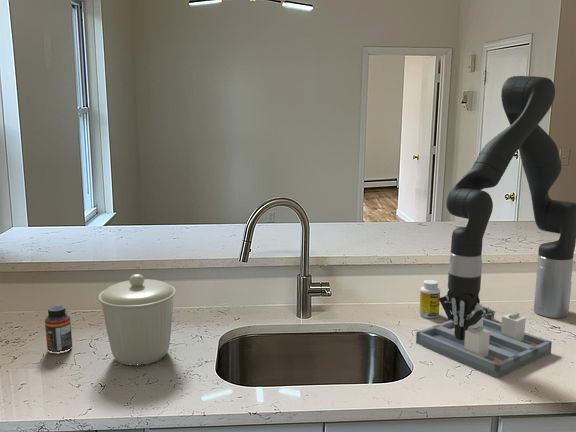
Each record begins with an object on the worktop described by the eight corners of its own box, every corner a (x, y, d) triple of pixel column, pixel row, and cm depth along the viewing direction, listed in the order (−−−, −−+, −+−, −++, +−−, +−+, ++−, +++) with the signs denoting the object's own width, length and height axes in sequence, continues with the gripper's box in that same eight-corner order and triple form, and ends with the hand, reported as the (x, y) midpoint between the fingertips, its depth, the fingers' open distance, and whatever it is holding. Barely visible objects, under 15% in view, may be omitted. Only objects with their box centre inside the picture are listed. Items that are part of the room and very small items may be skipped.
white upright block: (509, 335, 150) (511, 310, 149) (523, 340, 147) (525, 314, 146) (500, 338, 148) (502, 313, 147) (514, 343, 145) (516, 318, 143)
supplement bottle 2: (429, 320, 165) (431, 286, 163) (415, 314, 169) (416, 281, 167) (443, 316, 168) (444, 282, 166) (428, 310, 172) (430, 277, 170)
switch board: (469, 323, 162) (470, 313, 162) (550, 353, 143) (551, 341, 143) (416, 343, 149) (416, 332, 149) (497, 378, 130) (498, 365, 130)
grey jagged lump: (452, 314, 170) (453, 301, 169) (473, 311, 173) (474, 298, 172) (476, 327, 160) (477, 313, 159) (498, 323, 163) (499, 309, 162)
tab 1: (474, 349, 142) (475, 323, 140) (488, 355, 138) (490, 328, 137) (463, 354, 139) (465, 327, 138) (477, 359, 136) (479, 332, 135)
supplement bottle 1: (43, 350, 146) (39, 308, 144) (65, 343, 151) (62, 301, 148) (54, 357, 142) (50, 313, 140) (77, 349, 147) (73, 307, 144)
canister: (129, 381, 130) (123, 291, 126) (88, 358, 142) (82, 275, 138) (193, 355, 143) (190, 273, 139) (151, 335, 155) (147, 259, 151)
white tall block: (469, 333, 151) (470, 308, 150) (482, 338, 148) (483, 313, 147) (459, 337, 149) (460, 311, 148) (472, 342, 146) (473, 316, 145)
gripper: (498, 275, 135) (493, 344, 139) (452, 262, 146) (448, 327, 149) (478, 281, 131) (473, 352, 135) (432, 267, 141) (429, 334, 145)
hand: (460, 339), depth 142 cm, fingers closed
